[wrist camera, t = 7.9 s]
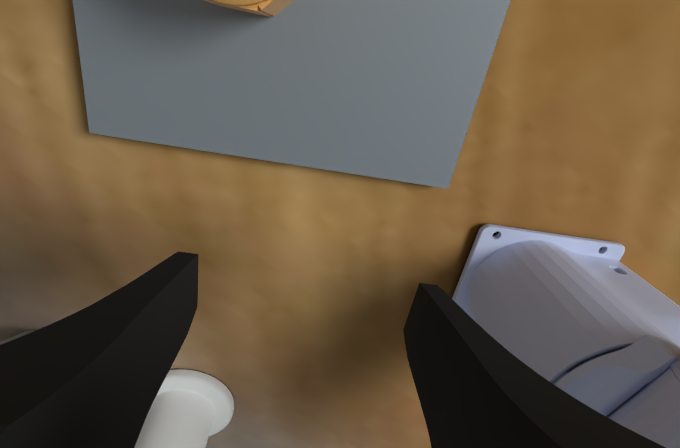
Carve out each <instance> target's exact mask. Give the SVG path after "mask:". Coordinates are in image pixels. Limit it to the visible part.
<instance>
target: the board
mask: <svg viewBox="0 0 680 448" xmlns="http://www.w3.org/2000/svg"><path fill="white" fill-rule="evenodd" d="M510 1H511V0H294V1H293V2H291V3H290V4H289V5H288V6H287V7H285V8H284V9H283V10H282V11H280V12H279V13H278V14H277V15H276V16H272V15H271V17H268V16H263V15H258V14H254V13H249V12H245V11H240V10H235V9H231V8H226V7H222V6H219V5H216V4H213V3H210V2H207V1H204V0H73V8H74V16H75V24H76V32H77V39H78V47H79V55H80V63H81V71H82V79H83V86H84V94H85V102H86V110H87V118H88V126H89V133H92V134H99V135H105V136H112V137H118V138H125V139H131V140H137V141H144V142H150V143H157V144H163V145H170V146H176V147H182V148H189V149H195V150H202V151H208V152H215V153H221V154H228V155H234V156H240V157H247V158H253V159H260V160H266V161H273V162H279V163H285V164H292V165H298V166H305V167H311V168H318V169H324V170H330V171H337V172H343V173H350V174H356V175H363V176H369V177H375V178H382V179H388V180H395V181H401V182H408V183H414V184H420V185H427V186H433V187H440V188H446V189H448V187H449V184H450V181H451V178H452V175H453V172H454V169H455V166H456V163H457V160H458V157H459V154H460V151H461V148H462V145H463V142H464V139H465V136H466V133H467V130H468V127H469V124H470V121H471V118H472V115H473V112H474V109H475V106H476V103H477V100H478V97H479V94H480V91H481V88H482V85H483V82H484V79H485V76H486V73H487V70H488V67H489V64H490V61H491V58H492V55H493V52H494V49H495V46H496V43H497V40H498V37H499V34H500V31H501V28H502V25H503V22H504V19H505V16H506V13H507V10H508V7H509V4H510Z"/></svg>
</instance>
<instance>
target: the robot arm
mask: <svg viewBox="0 0 680 448" xmlns="http://www.w3.org/2000/svg"><path fill="white" fill-rule="evenodd" d="M497 231H498V234H497V235H495V236H493V234H494V233H495V232H497ZM601 247H602V248H601ZM600 248H601V249H600ZM599 249H600V250H599ZM624 251H625V247H624V246H623V245H621V244H620V243H617V242H610V241H603V240H596V239H589V238H582V237H575V236H568V235H562V234H555V233H548V232H541V231H534V230H527V229H520V228H513V227H506V226H499V225H493V224H486V225H483V226H482V227H481V228H480V229H479V231H478V234H477V236H476V239H475V241H474V244H473V246H472V249H471V251H470V254H469V256H468V259H467V261H466V264H465V267H464V269H463V272H462V274H461V277H460V279H459V282H458V284H457V287H456V289H455V292H454V294H453V297H452V299H451V298H450V297H449V296H448V295H447V294H446V293H445V292H444V291H443V290H442V289H441V288H439V287H438V286H437V285H430V284H423V283H419V286H418V289H417V292H416V295H415V298H414V300H413V303H412V306H411V309H410V312H409V315H408V318H407V321H406V324H405V326H404V329H403V330H404V337H405V345H406V351H407V357H408V361H409V365H410V368H411V372H412V375H413V379H414V382H415V386H416V389H417V393H418V396H419V400H420V403H421V407H422V410H423V413H424V417H425V420H426V424H427V428H428V432H429V436H430V442H431V447H432V448H680V306H679V305H677V304H676V303H675V302H673V301H672V300H671V299H669V298H668V297H667V296H665V295H664V294H663V293H661V292H660V291H659V290H657V289H656V288H654V287H653V286H652V285H650V284H649V283H648V282H646V281H645V280H644V279H642V278H641V277H640V276H638V275H637V274H636V273H634V272H633V271H632V270H630V269H629V268H628V267H626V266H625V265H623V264H622V263H621V262H619V260H620V259H621V257H622V255H623V254H624ZM197 298H198V254H192V253H185V252H177V253H175V254H173V255H172V256H170V257H169V258H167V259H166V260H164V261H163V262H161V263H160V264H158V265H157V266H155V267H154V268H152V269H151V270H149V271H148V272H146V273H145V274H143V275H142V276H140V277H138V278H137V279H135V280H134V281H132V282H131V283H129V284H127V285H126V286H124V287H122V288H120V289H119V290H117V291H115V292H113V293H112V294H110V295H108V296H106V297H105V298H103V299H101V300H100V301H98V302H96V303H94V304H92V305H90V306H88V307H86V308H84V309H82V310H81V311H79V312H76V313H74V314H72V315H70V316H68V317H66V318H64V319H62V320H60V321H57V322H55V323H53V324H51V325H48V326H46V327H43V328H41V329H39V330H36V331H34V332H31V333H29V334H26V335H24V336H21V337H19V338H16V339H14V340H11V341H9V342H6V343H4V344H1V345H0V448H134V447H135V445H136V442H137V439H138V437H139V434H140V432H141V429H142V427H143V424H144V422H145V419H146V417H147V414H148V412H149V410H150V408H151V406H152V403H153V401H154V399H155V397H156V395H157V393H158V391H159V389H160V387H161V385H162V383H163V382H164V380H165V378H166V376H167V374H168V372H169V370H170V368H171V366H172V364H173V362H174V360H175V358H176V356H177V354H178V352H179V350H180V348H181V346H182V344H183V342H184V340H185V338H186V336H187V334H188V331H189V328H190V326H191V323H192V320H193V317H194V314H195V311H196V309H197Z"/></svg>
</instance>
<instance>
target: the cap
mask: <svg viewBox="0 0 680 448" xmlns="http://www.w3.org/2000/svg"><path fill="white" fill-rule="evenodd" d="M204 1H207V2H210V3H213V4H216V5H219V6H222V7H226V8H231V9H235V10H240V11H245V12H249V13H254V14H258V15H263V16H268V17H271V15H272V16H276V15H277V14H278V13H279V12H280V11H282V10H283V9H284V8H285V7H287V6H288V5H289V4H290V3H291V2H293V1H294V0H204Z"/></svg>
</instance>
